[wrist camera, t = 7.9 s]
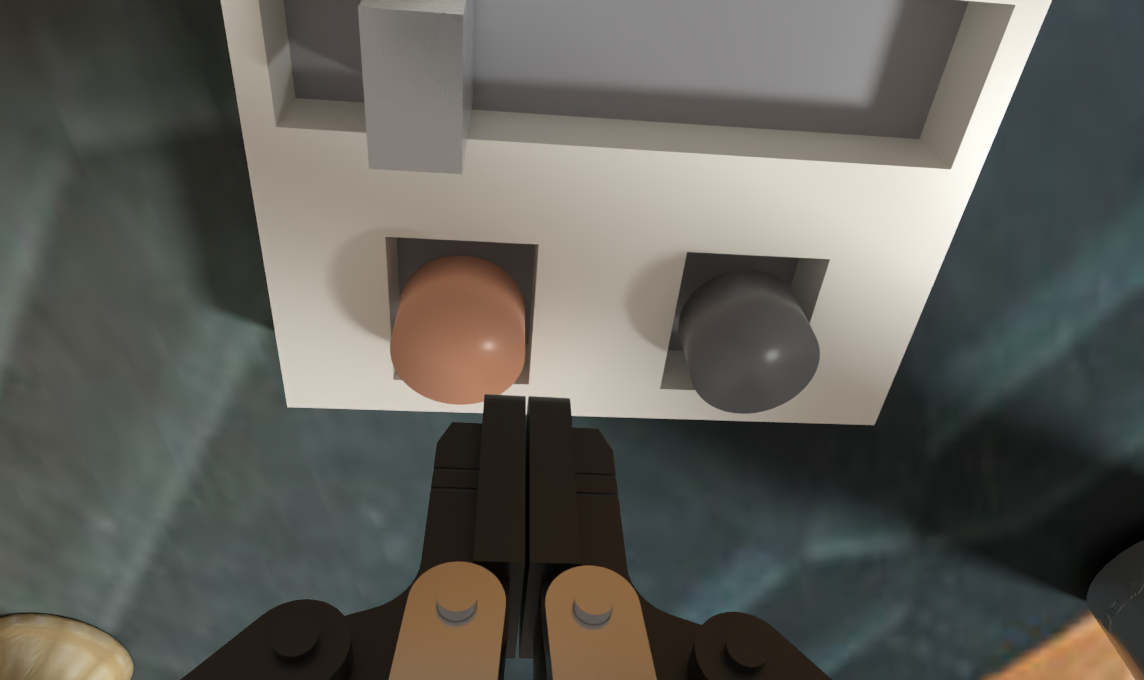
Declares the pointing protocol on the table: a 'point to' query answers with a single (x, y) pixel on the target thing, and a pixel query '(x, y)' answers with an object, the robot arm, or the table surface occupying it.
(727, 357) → the black button
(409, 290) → the terracotta button
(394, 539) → the table surface
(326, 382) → the console
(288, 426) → the table surface
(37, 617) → the hand bell
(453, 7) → the steel slider
